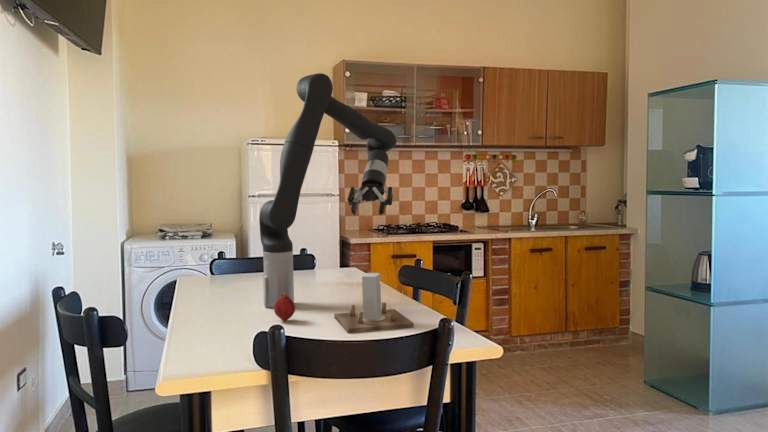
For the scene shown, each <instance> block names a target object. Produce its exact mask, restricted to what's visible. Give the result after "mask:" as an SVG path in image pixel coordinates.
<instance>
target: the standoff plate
mask: <svg viewBox="0 0 768 432" xmlns="http://www.w3.org/2000/svg"><path fill="white" fill-rule="evenodd" d="M349 311H350V312H340V313H339V312H338V313H334V314H333V317H334V320H335V321H337V323H338V324H339V325H340V326H341V327H342V328H343V329H344V330H345V332H347V334H354V333H355V334H356V333H367V332H377V331H387V330H388V331H389V330H399V329H412V328H413V329H414V328H415V323H414V322H413V321H412V320H410V319H409V318H407V317H406V316H405V315H403V314H402V313H400V312H399V311H398V310H397V309H395V308H391V309H387V302H381V315H380V317H379V318H378V320H364V319H363V311H356V305H355V304H350V305H349Z"/></svg>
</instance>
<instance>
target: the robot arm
mask: <svg viewBox="0 0 768 432" xmlns="http://www.w3.org/2000/svg"><path fill="white" fill-rule="evenodd" d="M331 79H332V78H330V77H329V76H328V75H327V74H325V73H320V72H319V73H314V74H310V75H309V74H308V75H306V76H303V77H301V78H300V79H299V80H298V82H297V84H296V93H297V96H298V97H299V99H300V100H301V101H302V102H303V107H302V110H301V112H300V114H299V116H298V117H297V119H296V120H295V122H294V123H293V125H292V127H291V128H290V130H289V132H288V133H287V136H286V138H285V140H284V144H283V146H282V149H281V154H280V158H279V159H280V161H279V184H278V188H277V190H276V194H275V196H274V198H273V199H271V200H268V201H266V202H264V203H263V204H262V206H261V207H260V210H259V218H258V220H259V233H260V234H259V235H260V236H259V237H260V242H261V245H262V255H263V256H262V259H263V275H262V281H263V283H262V284H263V285H262V286H263V305H264V308H273V309H274V305H275V303H276V301H277V300H278V299H279V298H280V297H282V294H283V293H285V294H286V295H287V296H288V297H289V298H290V299H291V300H292V301H293V303H294V304H295V288H294V287H295V285H294V283H295V282H294V251H293V250H294V246H293V241H292V240H291V238H290V236H289V230H288V229H290V227H291V226H292V225H293V224H294V222H295V220H296V216H297V212H298V205H299V201H300V200H299V199H300V195H301V191H302V187H303V183H304V181H305V178H306V175H307V171H308V167H309V164H310V162H311V158H312V155H313V151H314V148H315V145H316V140H317V137H318V135H319V130H320V127H321V123H322V121H323V117H324V116H325V115H327V116H328V117H330V118H331V119H333V120H335V121H336V122H338V123H339V124H340V125H342V126H343V127H344V128H346V130H348V131H349V132H351V134H353V135H354V136H356V137H358V139H360V140H362V141H363V140H364V141H365V140H367V142H366V152H367V153H366V154H367V161H366V166H365V167H364V171H363V177H362V180H361V185H360V188H355V187H354V186H352V187H350V190H349V193H348V196H347V203H348V206H351V209H350V211H351V214H353V216H356V215H357V213H358V212H357V211H358V206H359V205H361V204H363V203H365V202H370V201H371V202H376V201H378V204H379V209H378V213H379V216H383V214H385V212H386V208H387V206H392V205H393V199H394V198H393V197H394V190H393V187H392V186H388V188H385V184H386V180H387V174H388V164H389V154H388V153H387V152H388V151H390V150H392V149H394V147H396V145H397V136H396V135H395V134H394V132H393V131H392V130H390V129H389V128H387V127H385V126H383V125H380V124H378V123H375V122H373V121H371V120H370V119H369V118H368V117H366V116H365V115H364V114H363V113H362V112H360V111H358V110H357V109H355V108H353V107H351V106H349V105H347V104H346V103H343V102H341V101H339V100H338V99H336V98H335V97H334V96H332V95H333V90H334V88H333V81H332V80H331ZM385 194H386V196H387V198H386V199H385V197H383V196H384V195H385Z"/></svg>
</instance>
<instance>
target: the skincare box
mask: <svg viewBox="0 0 768 432" xmlns="http://www.w3.org/2000/svg"><path fill="white" fill-rule="evenodd" d="M361 282H362V283H361V287H362V288H361V289H362V290H361V291H362V312H363V319H364V320H378V318H379V317H380V315H381V310H382V309H381V303H382V296H381V292H382V291H381V288H382V287H381V286H382V285H381V273H380V272H366V273H364V274H363V275H362V276H361Z"/></svg>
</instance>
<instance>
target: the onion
mask: <svg viewBox="0 0 768 432" xmlns="http://www.w3.org/2000/svg"><path fill="white" fill-rule="evenodd" d="M295 311H296V307H295V302H294V303H293V301H292V300H291V299H290V298H289V297H288V296H287V295H286V294H285V293H283V294H282V297H280V298H279V299H278V300H277V301H276V303H275V305H274V308H273V312H274V315H276V317H278V318H279V319H280V320H282V321H283V322H287V321H288V320H289V319H290V318H291V317H292V316H293V315H294V314H295Z"/></svg>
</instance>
